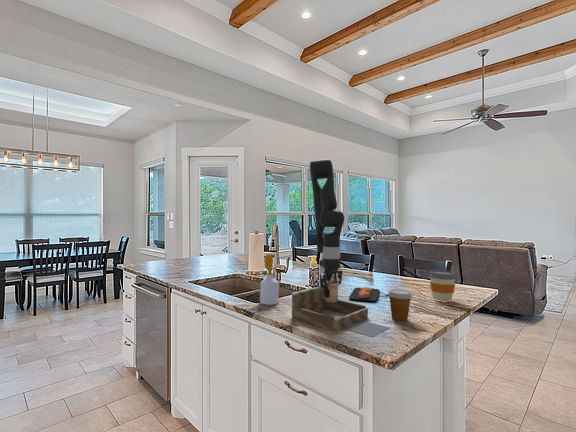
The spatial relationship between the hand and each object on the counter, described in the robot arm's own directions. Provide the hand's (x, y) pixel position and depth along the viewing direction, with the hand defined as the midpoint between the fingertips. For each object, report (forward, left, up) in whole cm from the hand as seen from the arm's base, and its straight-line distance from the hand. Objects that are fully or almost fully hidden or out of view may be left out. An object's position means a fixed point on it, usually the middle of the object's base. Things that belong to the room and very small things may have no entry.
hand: (331, 295), depth 137 cm
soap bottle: (+2, -36, -10) cm, 38 cm away
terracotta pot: (0, 0, -2) cm, 2 cm away
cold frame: (0, 0, -10) cm, 10 cm away
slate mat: (0, +18, -10) cm, 20 cm away
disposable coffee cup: (-20, +22, -10) cm, 31 cm away
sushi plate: (-50, -3, -10) cm, 51 cm away
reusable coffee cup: (-68, +24, -10) cm, 72 cm away
